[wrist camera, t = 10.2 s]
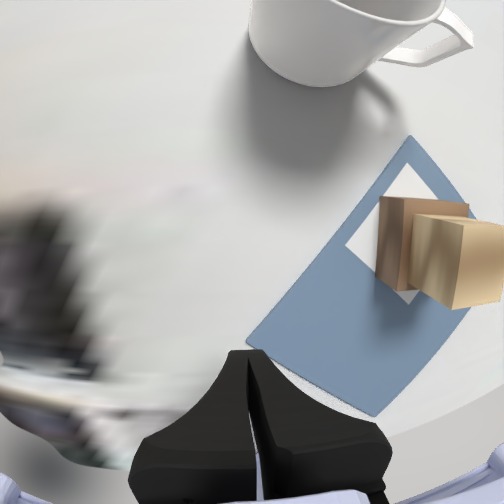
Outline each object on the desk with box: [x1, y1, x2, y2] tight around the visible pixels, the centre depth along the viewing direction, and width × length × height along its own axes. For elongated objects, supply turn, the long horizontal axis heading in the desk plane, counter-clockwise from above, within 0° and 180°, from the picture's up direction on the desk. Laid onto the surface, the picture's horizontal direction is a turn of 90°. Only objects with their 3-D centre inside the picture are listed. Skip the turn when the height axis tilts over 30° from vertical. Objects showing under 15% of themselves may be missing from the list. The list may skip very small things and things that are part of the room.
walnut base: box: [375, 196, 469, 292], centre depth 20 cm, size 6×6×4 cm
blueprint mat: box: [246, 135, 477, 417], centre depth 23 cm, size 20×16×1 cm
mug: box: [248, 0, 473, 87], centre depth 13 cm, size 12×9×11 cm
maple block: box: [407, 214, 504, 310], centre depth 16 cm, size 4×4×5 cm
